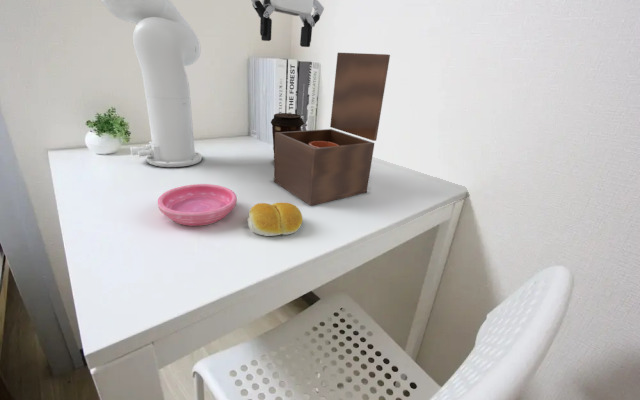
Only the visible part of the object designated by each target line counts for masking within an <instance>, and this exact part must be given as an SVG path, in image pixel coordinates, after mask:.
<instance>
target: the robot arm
mask: <svg viewBox="0 0 640 400" xmlns="http://www.w3.org/2000/svg"><path fill="white" fill-rule="evenodd" d="M100 1H101V2H102V4H103V5H104V6H105V8H106V9H107V10H108V11H109V12H110V13H111V14H112V15H113V16H114V17H116V18H117V19H119V20H122V21H125V22H126V23H131V24H136V25H135V26H134V29H133V33H132V44H133V48H134V53H135V56H136V58H137V61H138V65H139V68H140V69H139V70H140V73H141V76H142V82H143V90H144V97H145V103H146V110H147V119H148V124H149V131H150V139H151V140H150V141H148V144H145V145H144V146H130V147H129V149H130V154H131V156H139V157H146V161H147V163H148V164H150V165H152V166H156V167H159V168H160V167H161V168H182V167H183V168H184V167H188V166H189V167H190V166H193V165H196V164H198V163H200V162H201V161H202V157H203V156H202V154H201V153H200V152H198V151H196V150H195V139H194V125H193V124H194V123H193V113H192V99H191V91H190V90H191V89H190V83H189V79H188V74H187V71H186V68H185V67H188V66H191V65H193V64H195V63H196V62H197V61H198V60H199V58H200V55H201V43H200V38H199V37H198V35H197V33H196V32H195V30H194V29H193V27H192V26H191V25H190V24H189V23H188V21H187V20H186V18H185V17H184V16H183V15H182V13H181V12H180V11H179V9H178V8H177V7H176V6H175V4H174V3H173V2H172V1H171V0H100ZM250 1H251V3H252V7H253V9H254V10H255V12H256V13H257V16H258V18H259V19H260V26H259V34H260V36H261V41H263V42H270V41H271V40H272V29H273V28H272V27H273V25H272V24H273V19H272V18H270V16H271V15H272V14H273V12H276V13H279V14H286V15H289V16H293V17H299V18H300V20H301V22H302V24H303V26H301V27H300V40H299V46H300V47H303V48H310V47H311V42H312V37H313V36H312V34H313V28H314V27H315V26H316V24H317V23H318V22H319V21H320V20H321V19H320V18H321V15H322V14H323V12H324V10H325V6H323V5H322V4H321V2H320V1H318V0H261V1H260V0H250ZM313 9H314V11H313ZM312 12H313V14H312Z"/></svg>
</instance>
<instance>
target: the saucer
mask: <svg viewBox="0 0 640 400" xmlns="http://www.w3.org/2000/svg"><path fill="white" fill-rule="evenodd" d="M237 201H238V198H237V194H236V193H235V192H234V191H233V190H232V189H230V188H228V187H225V186H222V185H219V184H211V183H196V184H195V183H194V184H187V185H181V186H177V187H174V188H171V189H169V190H167V191H165V192H163V193H162V194H161V195H160V196H159V197H158V199H157V207H158V210H159V211H160V212H161V213H162V214H163V215H164V216H165V217H167V218H169V219H170V220H172V221H173V222H175V223H176V224H179V225H183V226H189V227H190V226H191V227H192V226H193V227H199V226H206V225H211V224H215V223H217V222H221V221H222V220H223V219H224V218H226V217H227V215H228V214H230V213H231V212H232V211H233V210H234V208H235V207H236V205H237Z"/></svg>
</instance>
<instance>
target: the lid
mask: <svg viewBox="0 0 640 400" xmlns="http://www.w3.org/2000/svg"><path fill="white" fill-rule="evenodd" d="M390 57H391V54H385V53H384V54H383V53H363V52H362V53H358V52H357V53H356V52H337V54H336V65H335V73H334V74H335V75H334V85H333V94H332V96H333V97H332V104H331V105H332V106H331V115H330V125H329V127H330V129H334V130H337V131H340V132H343V133H346V134H349V135H353V136H356V137H359V138H362V139H365V140H368V141H372V142H376V141H377V138H378V132H379V125H380V121H381V114H382V113H381V112H382V108H383V101H384V96H385V89H386V84H387V83H386V82H387V77H388V70H389V63H390Z"/></svg>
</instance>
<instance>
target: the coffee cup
mask: <svg viewBox="0 0 640 400" xmlns="http://www.w3.org/2000/svg"><path fill="white" fill-rule="evenodd" d="M270 124H271V126H272V127H271V131H272V132H271V133H272V134H271V135H272V144H273V145H272V150H273V159H274V158H275V132H291V131H302V127H303V126H304V125H305V122H304V119H303V118H302V116H301V114H298V113H288V112H277V113H275V114H273V118H272V119H271V121H270ZM273 163H274V160H273Z"/></svg>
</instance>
